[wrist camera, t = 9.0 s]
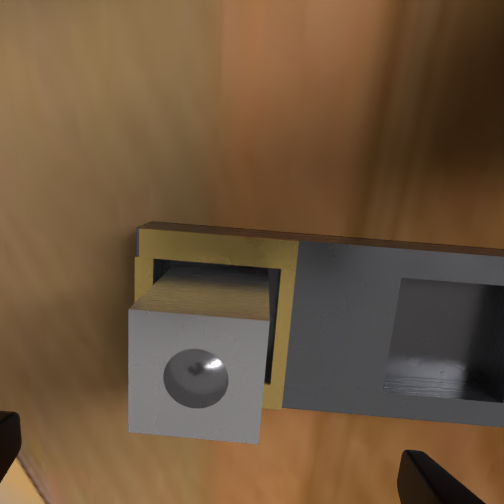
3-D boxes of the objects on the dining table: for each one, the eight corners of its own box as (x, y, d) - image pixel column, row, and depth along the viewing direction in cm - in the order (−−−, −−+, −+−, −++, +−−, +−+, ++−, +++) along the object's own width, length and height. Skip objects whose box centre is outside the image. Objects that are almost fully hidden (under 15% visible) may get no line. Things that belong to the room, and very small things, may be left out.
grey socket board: (522, 250, 19) (561, 262, 17) (487, 400, 21) (517, 431, 19) (151, 221, 20) (134, 228, 17) (149, 370, 22) (134, 396, 19)
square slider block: (268, 269, 19) (269, 321, 13) (261, 354, 20) (258, 444, 14) (176, 262, 20) (128, 309, 13) (173, 346, 21) (128, 432, 14)
